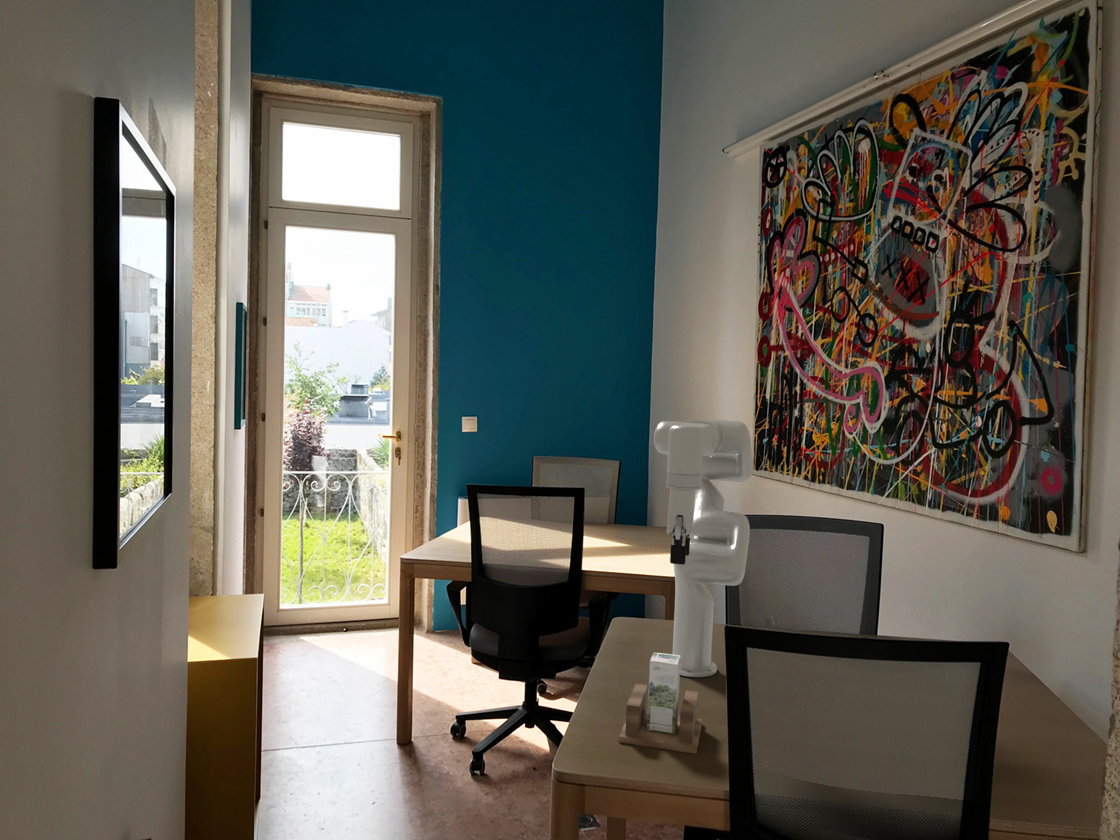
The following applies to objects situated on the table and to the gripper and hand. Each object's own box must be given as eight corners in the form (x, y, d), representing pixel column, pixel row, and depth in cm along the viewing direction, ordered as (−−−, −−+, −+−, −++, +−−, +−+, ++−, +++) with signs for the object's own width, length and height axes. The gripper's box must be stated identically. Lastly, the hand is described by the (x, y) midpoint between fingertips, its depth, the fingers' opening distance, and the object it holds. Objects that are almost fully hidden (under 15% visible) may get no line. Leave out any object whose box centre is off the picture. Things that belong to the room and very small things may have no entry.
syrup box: (677, 723, 165) (681, 654, 165) (674, 735, 160) (678, 663, 159) (650, 719, 167) (653, 650, 166) (645, 731, 161) (649, 659, 160)
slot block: (630, 714, 172) (631, 681, 172) (701, 724, 168) (703, 690, 168) (619, 742, 158) (620, 706, 158) (696, 753, 155) (698, 716, 155)
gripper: (670, 476, 186) (667, 550, 187) (661, 484, 169) (657, 565, 170) (703, 478, 184) (700, 553, 185) (698, 487, 167) (693, 569, 168)
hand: (679, 559), depth 177 cm, fingers open, 9 cm apart
